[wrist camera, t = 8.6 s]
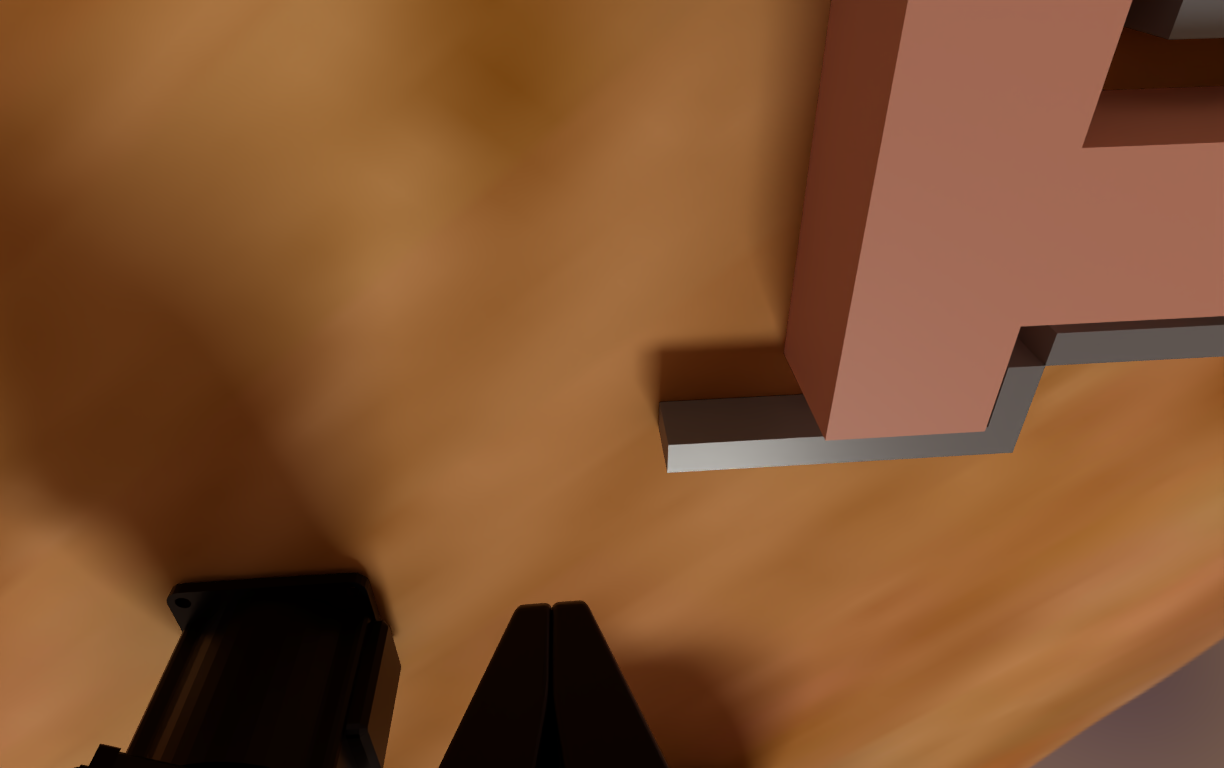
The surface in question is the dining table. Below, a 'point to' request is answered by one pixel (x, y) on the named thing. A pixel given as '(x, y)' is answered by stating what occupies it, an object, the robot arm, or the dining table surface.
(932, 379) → the t block
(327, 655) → the robot arm
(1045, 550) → the dining table surface
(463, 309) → the dining table surface
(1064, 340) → the t socket
